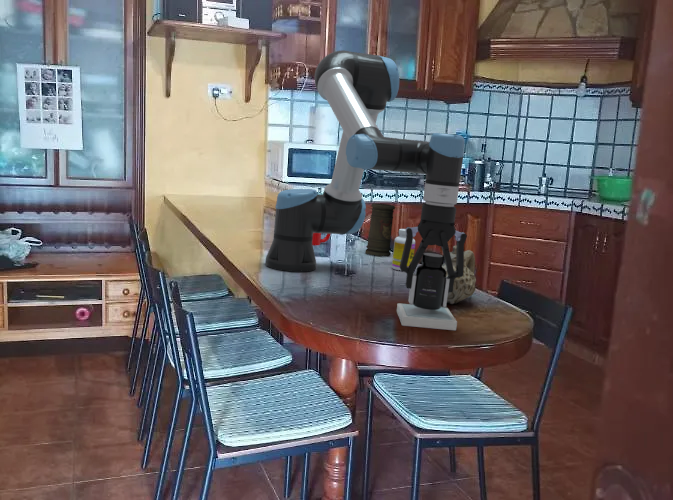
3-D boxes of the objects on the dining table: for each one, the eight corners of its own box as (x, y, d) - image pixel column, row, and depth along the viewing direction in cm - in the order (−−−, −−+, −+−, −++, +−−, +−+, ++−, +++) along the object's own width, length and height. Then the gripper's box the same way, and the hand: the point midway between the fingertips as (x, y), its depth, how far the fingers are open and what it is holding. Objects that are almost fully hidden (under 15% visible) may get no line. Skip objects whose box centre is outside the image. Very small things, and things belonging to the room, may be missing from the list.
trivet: (401, 325, 144) (403, 315, 144) (396, 311, 156) (397, 302, 155) (456, 330, 144) (457, 320, 144) (446, 316, 156) (447, 306, 156)
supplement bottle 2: (423, 311, 145) (429, 257, 143) (406, 303, 151) (411, 251, 149) (448, 309, 148) (454, 257, 146) (430, 302, 154) (436, 251, 152)
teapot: (456, 313, 160) (464, 252, 158) (413, 303, 166) (420, 244, 163) (486, 299, 178) (493, 245, 176) (446, 291, 184) (453, 238, 181)
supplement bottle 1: (411, 272, 206) (415, 232, 204) (390, 269, 208) (394, 229, 205) (412, 269, 213) (417, 230, 211) (392, 266, 214) (397, 227, 212)
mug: (333, 245, 244) (335, 225, 243) (304, 245, 239) (306, 223, 238) (324, 242, 251) (326, 221, 250) (296, 241, 246) (297, 220, 245)
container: (361, 254, 232) (367, 203, 229) (370, 251, 240) (375, 202, 238) (385, 257, 229) (391, 206, 226) (393, 254, 237) (399, 205, 234)
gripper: (397, 201, 142) (385, 303, 146) (487, 210, 142) (473, 312, 146) (393, 198, 149) (382, 296, 153) (479, 206, 150) (466, 304, 153)
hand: (427, 303), depth 149 cm, fingers open, 7 cm apart
